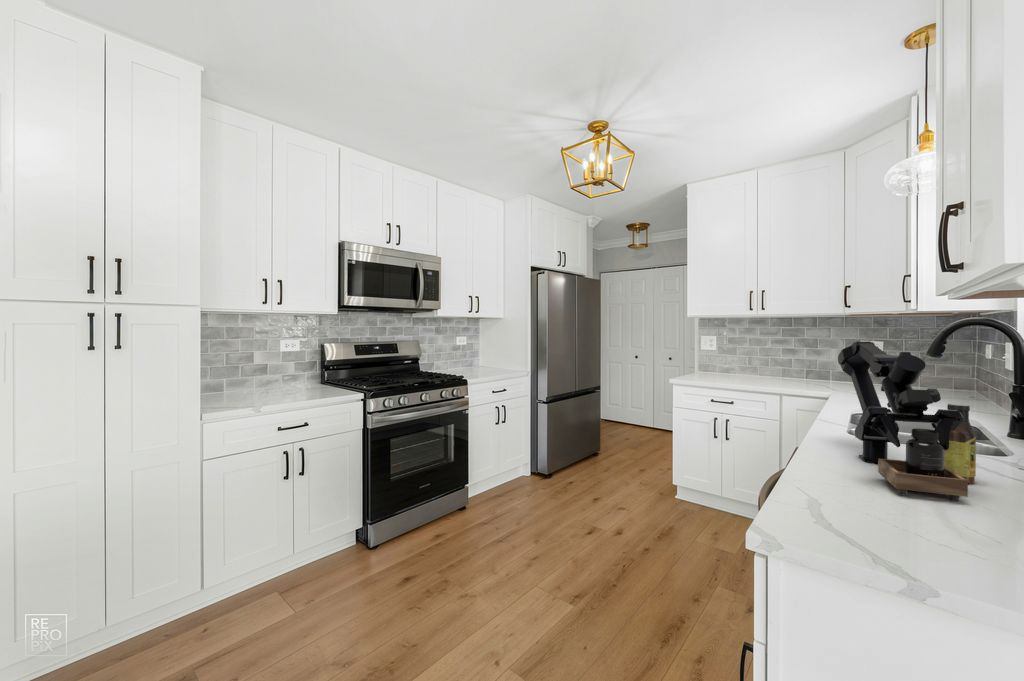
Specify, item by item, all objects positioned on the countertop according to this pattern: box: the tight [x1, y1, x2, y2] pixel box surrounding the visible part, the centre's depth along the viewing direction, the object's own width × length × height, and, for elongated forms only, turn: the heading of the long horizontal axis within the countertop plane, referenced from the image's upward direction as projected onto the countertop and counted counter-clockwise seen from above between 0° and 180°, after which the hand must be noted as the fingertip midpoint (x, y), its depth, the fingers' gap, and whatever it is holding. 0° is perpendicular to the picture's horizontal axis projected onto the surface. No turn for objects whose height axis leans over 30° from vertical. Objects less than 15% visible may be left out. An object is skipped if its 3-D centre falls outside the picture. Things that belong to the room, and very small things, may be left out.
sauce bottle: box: [944, 402, 977, 484], centre depth 113 cm, size 6×6×20 cm
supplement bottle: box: [905, 427, 944, 477], centre depth 106 cm, size 7×7×12 cm
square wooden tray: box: [877, 458, 969, 502], centre depth 106 cm, size 13×13×6 cm
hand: (922, 447), depth 105 cm, fingers open, 9 cm apart
